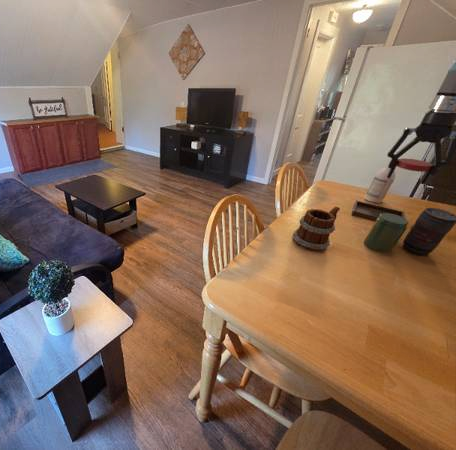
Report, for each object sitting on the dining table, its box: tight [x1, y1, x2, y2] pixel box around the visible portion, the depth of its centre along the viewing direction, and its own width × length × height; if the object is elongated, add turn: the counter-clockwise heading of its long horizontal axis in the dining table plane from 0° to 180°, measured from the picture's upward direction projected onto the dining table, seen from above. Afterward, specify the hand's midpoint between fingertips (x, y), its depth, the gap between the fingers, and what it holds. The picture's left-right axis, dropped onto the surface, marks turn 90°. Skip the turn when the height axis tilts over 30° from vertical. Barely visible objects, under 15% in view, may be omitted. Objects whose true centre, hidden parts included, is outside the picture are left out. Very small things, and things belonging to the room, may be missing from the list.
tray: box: [351, 200, 406, 222], centre depth 106 cm, size 17×13×2 cm
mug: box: [292, 206, 341, 252], centre depth 86 cm, size 12×14×15 cm
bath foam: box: [364, 158, 396, 204], centre depth 114 cm, size 7×7×20 cm
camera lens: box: [401, 207, 456, 257], centre depth 82 cm, size 8×8×15 cm
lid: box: [396, 158, 432, 173], centre depth 85 cm, size 9×9×2 cm
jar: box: [363, 213, 409, 254], centre depth 85 cm, size 8×8×12 cm
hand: (404, 179), depth 88 cm, fingers closed on lid, 8 cm apart
